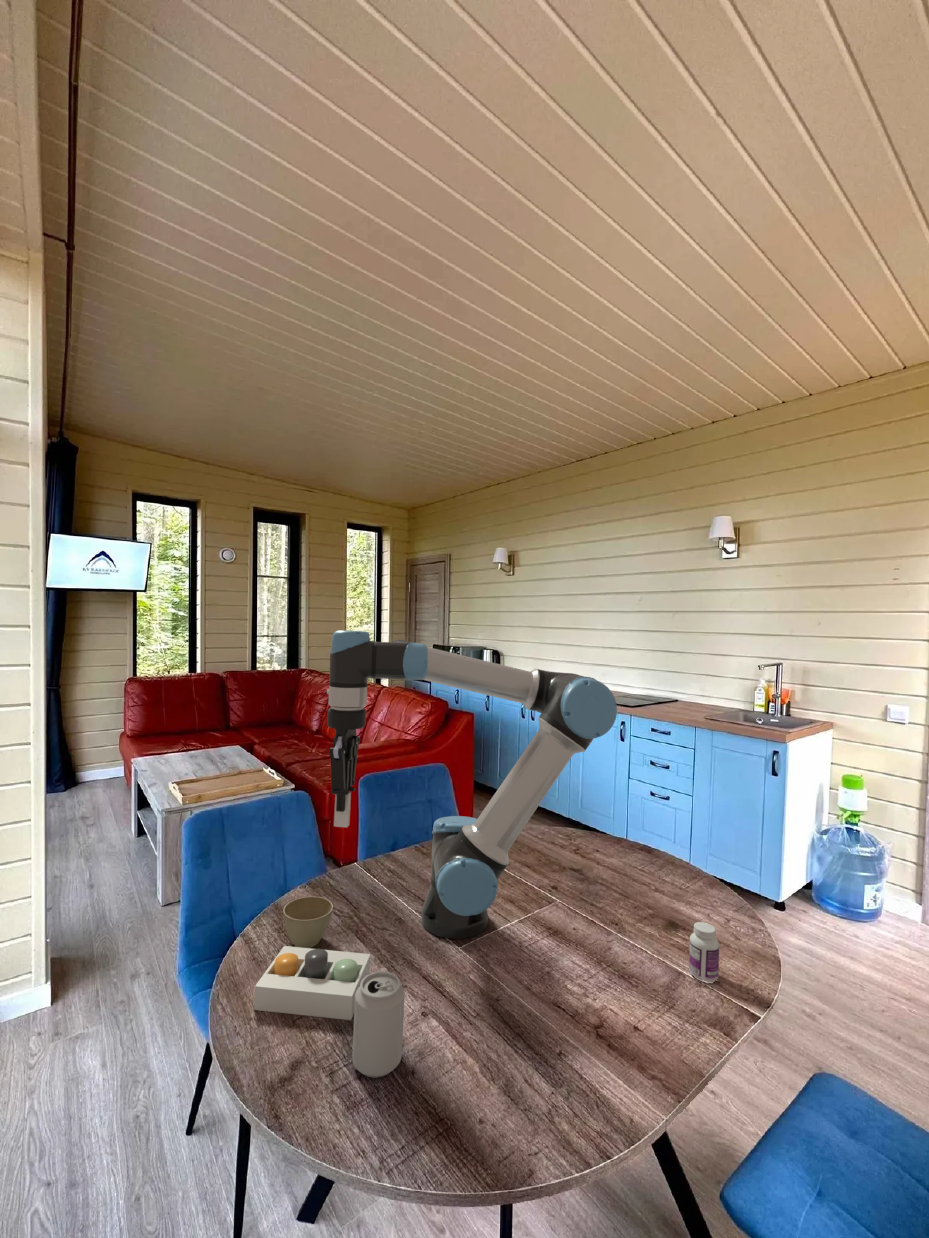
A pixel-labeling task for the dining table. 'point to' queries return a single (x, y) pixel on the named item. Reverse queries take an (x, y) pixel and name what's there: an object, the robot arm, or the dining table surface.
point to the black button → (316, 964)
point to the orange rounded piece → (286, 964)
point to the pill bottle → (704, 952)
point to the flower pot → (307, 920)
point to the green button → (345, 970)
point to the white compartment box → (311, 988)
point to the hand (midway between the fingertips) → (341, 825)
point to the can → (378, 1024)
